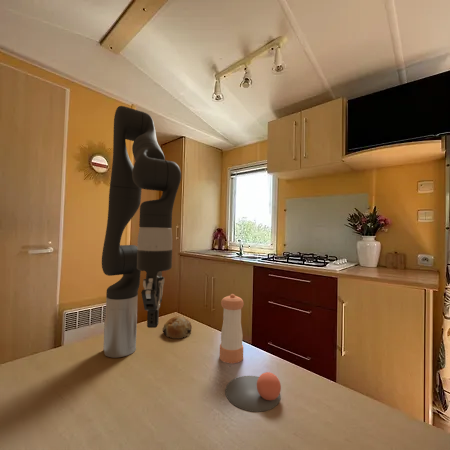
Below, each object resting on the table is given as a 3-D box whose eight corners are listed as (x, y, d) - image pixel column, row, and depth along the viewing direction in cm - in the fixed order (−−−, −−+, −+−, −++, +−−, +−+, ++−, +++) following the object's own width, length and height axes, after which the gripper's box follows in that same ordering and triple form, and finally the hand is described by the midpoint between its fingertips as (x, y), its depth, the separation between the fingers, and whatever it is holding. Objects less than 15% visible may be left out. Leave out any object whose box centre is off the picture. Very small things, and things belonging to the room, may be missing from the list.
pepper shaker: (231, 349, 82) (232, 290, 82) (248, 357, 76) (249, 294, 77) (214, 356, 76) (215, 293, 77) (231, 366, 71) (233, 298, 72)
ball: (287, 391, 58) (269, 408, 57) (273, 370, 62) (256, 385, 61) (282, 386, 55) (263, 404, 54) (267, 364, 59) (249, 380, 58)
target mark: (214, 395, 58) (214, 394, 58) (243, 371, 69) (243, 370, 69) (265, 420, 51) (265, 419, 51) (288, 388, 62) (288, 388, 62)
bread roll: (180, 350, 88) (190, 330, 87) (155, 335, 90) (165, 315, 89) (189, 339, 97) (198, 320, 97) (167, 325, 99) (176, 307, 99)
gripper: (168, 250, 50) (165, 339, 49) (175, 246, 63) (173, 316, 62) (129, 250, 49) (126, 339, 48) (144, 246, 62) (142, 316, 62)
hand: (152, 326), depth 55 cm, fingers closed
